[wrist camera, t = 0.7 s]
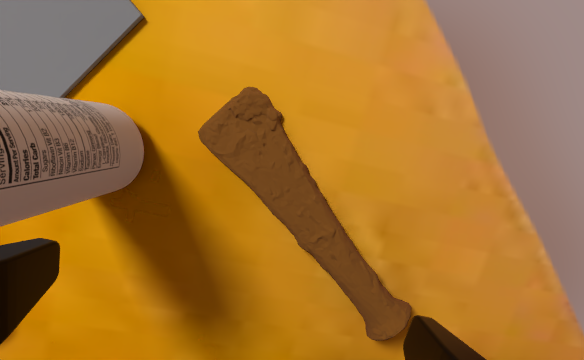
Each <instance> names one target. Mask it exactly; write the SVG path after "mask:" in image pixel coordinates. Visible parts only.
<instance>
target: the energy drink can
mask: <svg viewBox="0 0 584 360" xmlns="http://www.w3.org/2000/svg"><path fill="white" fill-rule="evenodd" d="M143 158H144V145H143V141H142V137H141V134H140V132H139V130H138V128H137V126H136V125H135V123H134V122H133V121H132V119H131V118H130V117H129V116H128V115H127V114H125V113H124V112H123V111H121V110H120V109H118V108H116V107H113V106H111V105H108V104H103V103H96V102H89V101H81V100H74V99H66V98H58V97H51V96H43V95H36V94H28V93H21V92H13V91H6V90H0V226H4V225H7V224H10V223H13V222H17V221H20V220H23V219H26V218H29V217H33V216H36V215H39V214H42V213H46V212H49V211H52V210H55V209H59V208H62V207H65V206H68V205H72V204H75V203H78V202H81V201H85V200H88V199H91V198H94V197H98V196H101V195H104V194H107V193H110V192H114V191H117V190H119V189H122V188H124V187H125V186H127V185H128V184H130V183H131V182H132V181H133V180H134V179H135V177H136V176H137V174H138V173H139V171H140V169H141V166H142V163H143Z"/></svg>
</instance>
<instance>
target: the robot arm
mask: <svg viewBox="0 0 584 360" xmlns="http://www.w3.org/2000/svg"><path fill="white" fill-rule="evenodd" d="M59 260H60V245H59V243H58V242H57V241H53V240H48V239H43V238H37V239H32V240H26V241H21V242H16V243H11V244H5V245H0V344H1V343H2V342H3V341H4V340H5V339H6V338H7V337H8V336H9V335H10V334H11V333H12V332H13V330H14V329H15V328H16V327H17V326H18V325H19V324H20V322H21V321H22V320H23V319H24V318H25V316H26V315H27V314H28V313H29V312H30V310H31V309H32V308H33V307H34V306H35V304H36V303H37V302H38V301H39V300H40V299H41V297H42V296H43V295H44V294H45V293H46V291H47V290H48V289H49V288H50V287H51V285H52V284H53V283H54V282H55V280H56V279H57V276H58V273H59ZM403 350H404V356H405V360H486V359H485V358H484V357H482V356H481V355H480V354H478V353H477V352H476V351H474V350H473V349H472V348H470V347H469V346H468V345H467V344H465V343H464V342H463V341H461V340H460V339H459V338H457V337H456V336H455V335H453V334H452V333H451V332H449V331H448V330H447V329H446V328H444V327H443V326H442V325H440V324H439V323H438V322H436V321H435V320H434V319H432V318H430V317H425V316H420V315H416V316H414V318H413V319H412V321H411V324H410V327H409V329H408V332H407V335H406V337H405V340H404V345H403Z"/></svg>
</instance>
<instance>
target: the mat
mask: <svg viewBox="0 0 584 360" xmlns="http://www.w3.org/2000/svg"><path fill="white" fill-rule="evenodd" d="M143 18H144V16H143V15H142V13H141V12H140V11H139V10H138V9H137V8H136V6H135V5H134V4H133V3H132V2H131V0H0V90H6V91H13V92H21V93H28V94H36V95H43V96H51V97H58V98H64V97H65V96H66V95H67V94H68V93H69V92H70V91H71V90H72V89H73V88H74V87H75V86H76V85H77V84H78V83H79V82H80V81H81V80H82V79H83V78H84V77H85V76H86V75H87V74H88V73H89V72H90V71H91V70H92V69H93V68H94V67H95V66H96V65H97V64H98V63H99V62H100V61H101V60H102V59H103V58H104V57H105V56H106V55H107V54H108V53H109V52H110V51H111V50H112V49H113V48H114V47H115V46H116V45H117V44H118V43H119V42H120V41H121V40H122V39H123V38H124V37H125V36H126V35H127V34H128V33H129V32H130V31H131V30H132V29H133V28H134V27H135V26H136V25H137V24H138V23H139V22H140V21H141V20H142V19H143Z"/></svg>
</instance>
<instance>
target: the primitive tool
mask: <svg viewBox="0 0 584 360" xmlns="http://www.w3.org/2000/svg"><path fill="white" fill-rule="evenodd" d="M281 118H282V114H281V112H279V111H277V110H276V109H274V107H273V105H272V103H271V101H270V99H269V97H268V96H267V95H265V94H262V93H261V91H259V90H258V89H257V88H254V87H247V88H244V89H243V90H242V91H241V92H240V94H239V95H237V96H235V97H233V98H232V99H231V100H230V101H229V102H227V103H226V104H225V105H224V106H223V107H222V108H221V109H220V110H219V111H218V112H217V113H215V114H214V115H213V116H212V117H211V118H210V119H209V120H208V121H207V122H206V123H205V124H204V125H203V126H202V127H201V129H200V130H199V131H198V133H199V138H200V140H201V142H202V143H203V144H204V145H206V146H207V148H208V149H209V150H210V151H211V153H213V154H214V155H215V156H216V157H217V158H218V159H219V160H220V161H221V162H222V163H224V164H225V165H226V166H227V167H228V168H229V169H230V170H231V171H232V172H233V173H235V174H236V175H237V176H238V177H239V178H241V179H242V180H243V181H244V182H245V183H246V184H247V185H248V186H249V187H250V188H251V189H252V190H253V191H254V192H255V193H256V195H257V196H258V197H259V198H260V199H261V200H262V201H263V203H264V204H265V205H266V206H267V207H268V209H269V210H270V211H271V212H272V214H273V215H275V216H276V217H277V218H278V219H279V220H280V221H281V222H282V223H283V224H285V226H286V227H287V228H288V229H289V230H290V232H291V233H292V234H293V235H294V237H295V239H296V240H297V242H298V245H299V246H300V247H301V248H302V249H304V250H306V251H307V252H309V253H310V254H312V255H313V257H314V258H315V259H316V261H317V262H318V263H319V264H320V266H321V267H322V268H323V269H324V270H326V271H327V272H328V273H329V274H330V275H331V276H332V278H333V279H334V280H335V281H336V282H337V284H338V285H339V286H340V288H341V289H342V290H343V292H344V293H345V294H346V295H347V296H348V297H349V298H350V300H351V301H352V303H353V304H354V305H355V306H356V308H357V309H358V311H359V313H360V314H361V315H362V316H363V318H364V321H365V324H366V333H367V336H368V337H369V338H371V339H373V340H376V341H380V340H387V339H389V338H392V337H394V336H395V335H396V334H398V333H399V332H400V331H402V330H403V329H404V328H405V327H406V326H407V323H408V320H409V318H410V313H411V306H410V305H409V303H407V302H404V301H402V300H399V299H396V298H393V297H392V296H391V295H390V294H389V292H388V291H387V290H386V288H385V287H383V286H382V284H381V283H380V281H379V279H378V277H377V274H376V273H375V272H374V271H373V269H372V268H371V267H370V266H369V265H368V264H367V263H366V262H365V261H364V259H363V258H362V257H361V255H360V254H359V252H358V251H357V249H356V248H355V246H354V244H353V242H352V241H351V240H350V239H349V237H348V236H347V234H346V233H345V231H344V229H343V228H342V226H341V225H340V223H339V221H338V220H337V218H336V217H335V215H334V214H333V212H332V211H331V209H330V207H329V206H328V204H327V203H326V200H325V199H324V198H323V195H322V193H321V192H320V191H319V189H318V188H317V186H316V183H315V180H314V179H313V178H312V177H311V176H310V175H309V173H308V168H307V166H306V165H305V164H303V163H302V162H301V160H300V157H299V156H298V155H297V153H296V151H295V149H294V147H293V145H292V144H291V142H290V141H289V139H288V137H287V135H286V133H285V131H284V129H283V127H282V125H281V123H280V120H281Z"/></svg>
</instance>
